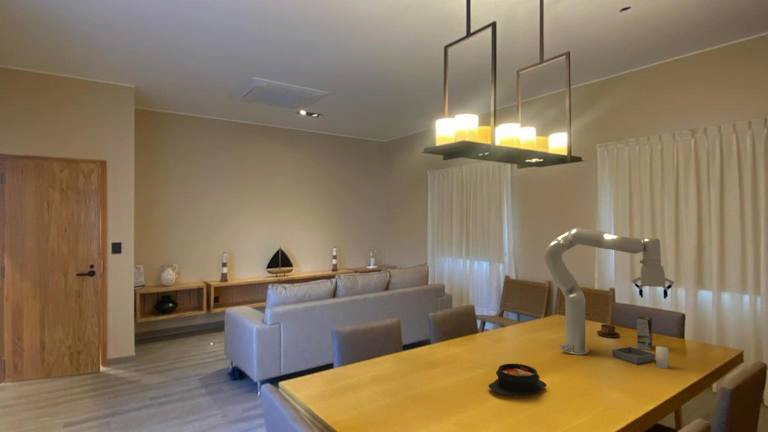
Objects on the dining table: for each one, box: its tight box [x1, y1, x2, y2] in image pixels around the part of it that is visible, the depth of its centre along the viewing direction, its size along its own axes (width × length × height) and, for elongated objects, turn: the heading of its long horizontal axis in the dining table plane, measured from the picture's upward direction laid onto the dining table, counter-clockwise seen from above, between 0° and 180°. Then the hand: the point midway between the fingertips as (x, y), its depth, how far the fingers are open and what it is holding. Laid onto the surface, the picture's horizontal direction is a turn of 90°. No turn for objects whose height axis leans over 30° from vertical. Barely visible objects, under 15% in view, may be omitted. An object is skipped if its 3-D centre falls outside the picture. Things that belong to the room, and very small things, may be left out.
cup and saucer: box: [596, 323, 620, 338], centre depth 249 cm, size 12×12×6 cm
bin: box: [611, 346, 656, 366], centre depth 208 cm, size 13×13×4 cm
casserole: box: [488, 363, 547, 397], centre depth 171 cm, size 25×19×8 cm
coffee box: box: [636, 315, 653, 351], centre depth 227 cm, size 9×6×16 cm
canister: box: [655, 345, 670, 370], centre depth 197 cm, size 5×5×9 cm
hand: (653, 297), depth 206 cm, fingers open, 9 cm apart
